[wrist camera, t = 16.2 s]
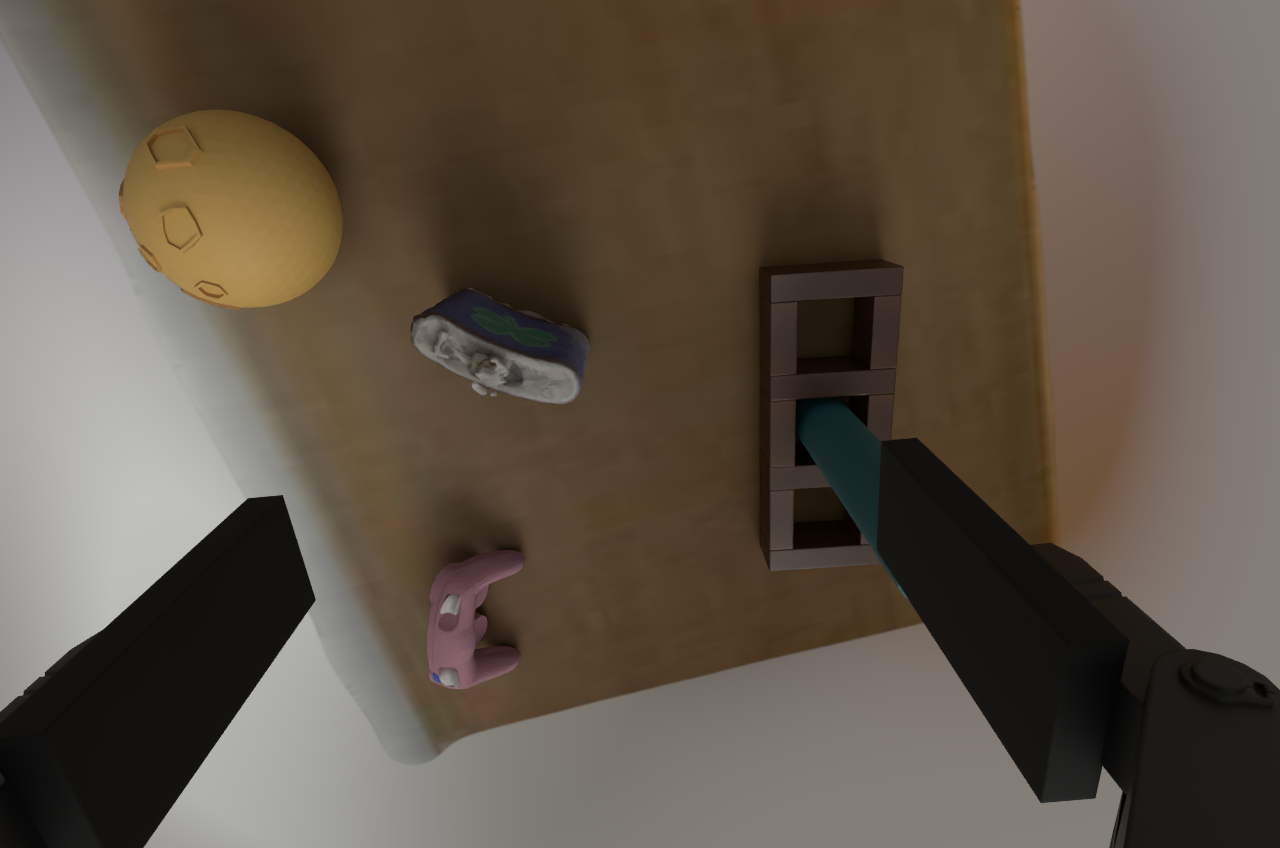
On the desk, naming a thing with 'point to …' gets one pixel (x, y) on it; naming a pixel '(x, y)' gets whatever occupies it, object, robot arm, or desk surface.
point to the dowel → (844, 459)
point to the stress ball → (232, 209)
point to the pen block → (794, 378)
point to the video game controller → (467, 621)
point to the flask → (503, 347)
